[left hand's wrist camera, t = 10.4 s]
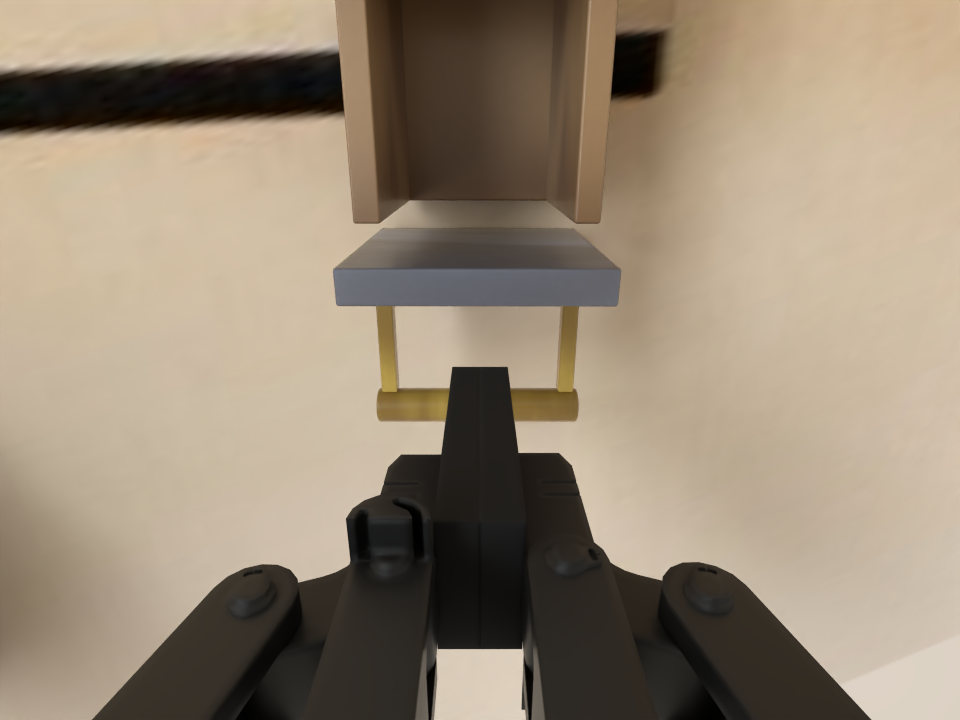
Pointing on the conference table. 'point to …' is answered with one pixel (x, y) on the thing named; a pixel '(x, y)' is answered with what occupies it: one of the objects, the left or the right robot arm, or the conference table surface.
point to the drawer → (476, 167)
